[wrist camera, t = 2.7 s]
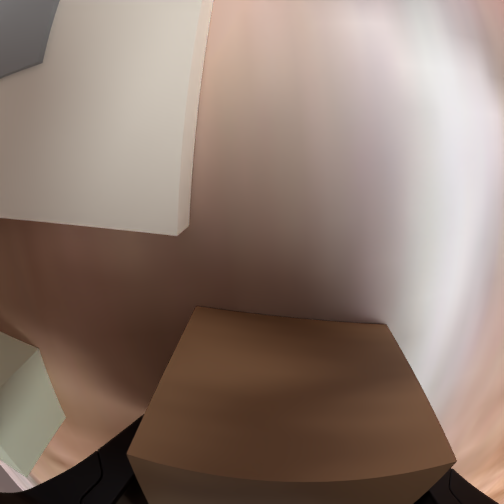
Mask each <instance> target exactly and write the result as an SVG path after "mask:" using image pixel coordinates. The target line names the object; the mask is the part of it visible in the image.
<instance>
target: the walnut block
mask: <svg viewBox="0 0 504 504" xmlns="http://www.w3.org/2000/svg"><path fill="white" fill-rule="evenodd" d="M127 457H128V459H129V462H130V464H131V466H132V469H133V471H134V473H135V476H136V478H137V480H138V482H139V485H140V487H141V489H142V491H143V493H144V495H145V497H146V499H147V501H148V503H149V504H413V503H415V502H416V501H417V500H418V499H419V498H420V497H421V496H422V495H424V494H425V493H426V492H427V491H428V490H429V489H430V488H431V487H432V486H433V485H434V484H435V483H436V482H437V481H438V480H439V479H440V478H441V477H442V476H443V475H444V474H445V473H446V472H447V471H448V470H449V469H450V468H451V467H452V466H453V465H454V464H455V463H456V462H457V460H456V458H455V455H454V453H453V451H452V449H451V446H450V444H449V442H448V440H447V438H446V436H445V433H444V431H443V429H442V427H441V425H440V423H439V421H438V419H437V417H436V415H435V413H434V411H433V409H432V407H431V405H430V403H429V401H428V399H427V397H426V395H425V393H424V391H423V389H422V387H421V385H420V383H419V381H418V380H417V378H416V376H415V374H414V372H413V370H412V368H411V367H410V365H409V363H408V361H407V359H406V358H405V356H404V354H403V352H402V350H401V349H400V347H399V345H398V343H397V342H396V340H395V338H394V337H393V335H392V333H391V331H390V330H389V328H388V326H387V325H385V324H367V323H351V322H337V321H324V320H312V319H301V318H291V317H281V316H271V315H262V314H254V313H245V312H237V311H230V310H222V309H215V308H207V307H200V306H196V308H195V310H194V312H193V314H192V316H191V318H190V320H189V322H188V324H187V326H186V328H185V330H184V332H183V334H182V336H181V338H180V340H179V342H178V344H177V346H176V349H175V351H174V353H173V355H172V357H171V359H170V361H169V363H168V365H167V367H166V369H165V371H164V374H163V376H162V378H161V380H160V382H159V384H158V386H157V388H156V390H155V393H154V395H153V397H152V399H151V401H150V403H149V405H148V408H147V410H146V412H145V414H144V416H143V418H142V421H141V423H140V425H139V427H138V429H137V432H136V434H135V436H134V438H133V440H132V443H131V445H130V447H129V449H128V451H127Z"/></svg>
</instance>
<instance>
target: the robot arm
mask: <svg viewBox="0 0 504 504" xmlns="http://www.w3.org/2000/svg"><path fill="white" fill-rule="evenodd" d="M143 416H144V414H143V415H142V416H141V417H140V418H138V419H137V420H136V421H135V422H133V423H132V424H131V425H129V426H128V427H127V428H126V429H124V430H123V431H122V432H121V433H119V434H118V435H117V436H115V437H114V438H113V439H111V440H110V441H109V442H108V443H106V444H105V445H104V446H102V447H101V448H100V449H98V451H95V452H94V453H93V454H91V455H90V456H89V457H87V458H86V459H84V460H83V461H81V462H80V463H78V464H77V465H76V466H74V467H72V468H70V469H69V470H67V471H65V472H63V473H61V474H60V475H58V476H56V477H54V478H52V479H50V480H48V481H46V482H44V483H42V484H39V485H37V486H35V487H33V488H31V489H28V490H25V491H22V492H16V493H2V492H0V504H149V503H148V501H147V499H146V497H145V495H144V493H143V491H142V489H141V487H140V485H139V482H138V480H137V478H136V476H135V473H134V471H133V469H132V466H131V464H130V462H129V459H128V457H127V451H128V449H129V447H130V445H131V443H132V440H133V438H134V436H135V434H136V432H137V429H138V427H139V425H140V423H141V421H142V418H143ZM413 504H498V503H497V502H495V501H494V500H493V499H491V498H490V497H488V496H487V495H485V494H484V493H482V492H481V491H479V490H478V489H477V488H475V487H474V486H473V485H471V484H470V483H469V482H468V481H466V480H465V479H464V478H463V477H462V476H460V475H459V474H458V473H457V472H456V471H455V470H454V469H451V468H450V469H449V470H448V471H447V472H446V473H445V474H444V475H443V476H442V477H441V478H440V479H439V480H438V481H437V482H436V483H435V484H434V485H433V486H432V487H431V488H430V489H429V490H428V491H427V492H426V493H425V494H424V495H422V496H421V497H420V498H419V499H418V500H417V501H416V502H415V503H413Z"/></svg>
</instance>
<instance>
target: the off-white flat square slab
mask: <svg viewBox="0 0 504 504" xmlns="http://www.w3.org/2000/svg"><path fill="white" fill-rule="evenodd" d="M213 2H214V0H0V218H7V219H17V220H27V221H38V222H48V223H58V224H68V225H78V226H88V227H97V228H107V229H117V230H126V231H136V232H145V233H155V234H164V235H173V236H178V235H179V234H180V233H181V232H182V231H184V230H185V229H186V228H187V227H188V226H189V218H190V200H191V184H192V169H193V157H194V145H195V134H196V124H197V114H198V105H199V96H200V88H201V80H202V72H203V64H204V57H205V50H206V44H207V37H208V31H209V25H210V19H211V13H212V7H213Z"/></svg>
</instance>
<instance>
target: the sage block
mask: <svg viewBox="0 0 504 504" xmlns="http://www.w3.org/2000/svg"><path fill="white" fill-rule="evenodd" d="M65 418H66V417H65V415H64V412H63V410H62V408H61V406H60V403H59V401H58V399H57V396H56V394H55V392H54V389H53V387H52V384H51V382H50V379H49V376H48V374H47V371H46V368H45V365H44V362H43V360H42V357H41V354H40V351H39V348H36V347H34V346H32V345H29V344H27V343H24V342H22V341H20V340H18V339H15V338H13V337H11V336H9V335H7V334H5V333H3V332H0V460H2V461H3V462H4V463H6V464H7V465H9V466H10V467H11V468H13V469H14V470H16V471H17V472H19V473H20V474H22V475H23V476H25V477H28V475H29V473H30V472H31V470H32V469H33V467H34V465H35V464H36V462H37V461H38V459H39V458H40V456H41V454H42V453H43V451H44V450H45V448H46V447H47V445H48V444H49V442H50V441H51V439H52V437H53V436H54V434H55V433H56V431H57V430H58V428H59V427H60V426H61V424H62V423H63V421H64V420H65Z"/></svg>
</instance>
